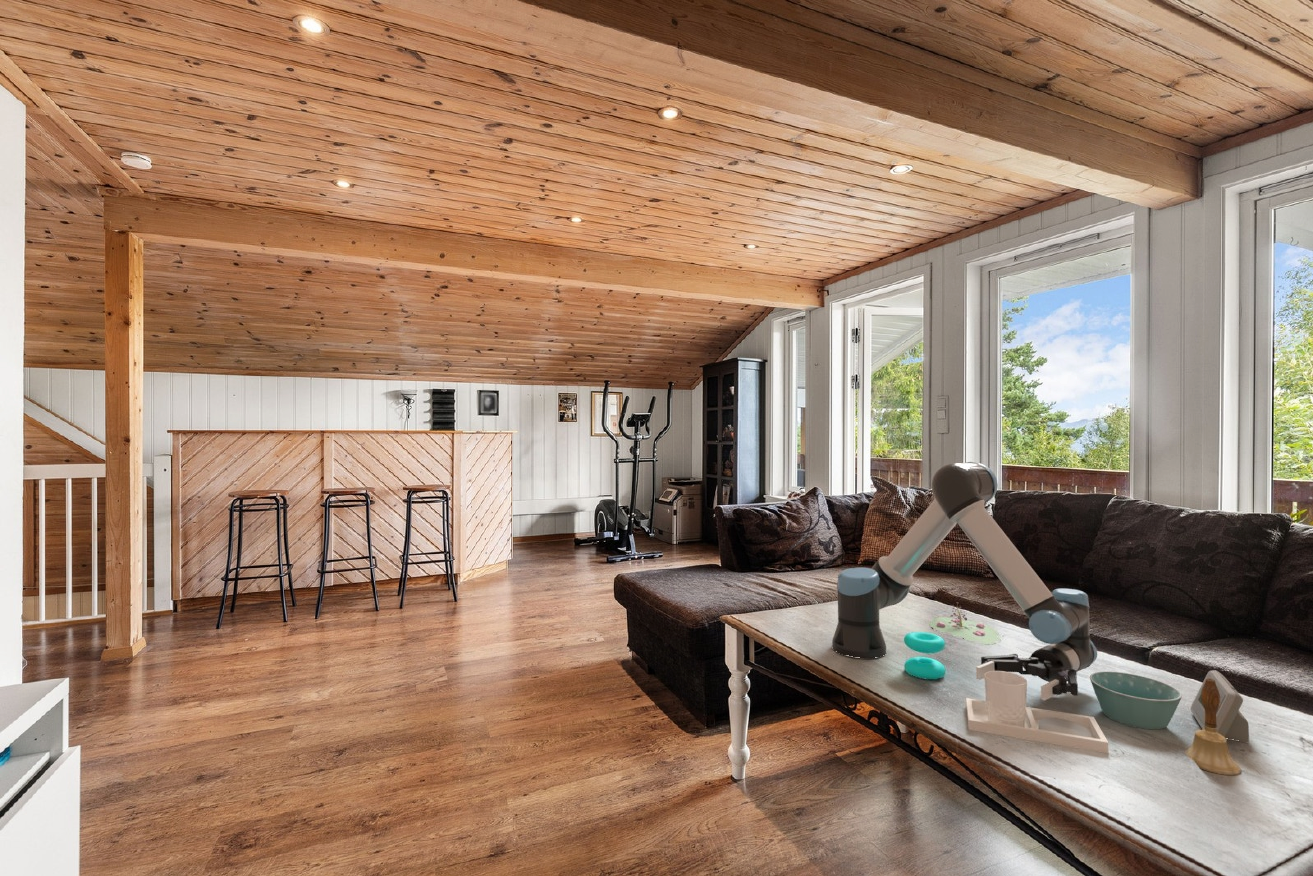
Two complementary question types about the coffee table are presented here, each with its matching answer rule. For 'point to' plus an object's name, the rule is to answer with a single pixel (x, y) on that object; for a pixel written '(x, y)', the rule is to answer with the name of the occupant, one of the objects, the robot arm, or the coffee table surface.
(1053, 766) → the coffee table surface
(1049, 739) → the tray
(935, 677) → the donuts
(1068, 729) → the grey flat disc
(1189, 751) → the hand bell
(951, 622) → the plant
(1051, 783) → the coffee table surface
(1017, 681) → the white cup
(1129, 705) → the bowl
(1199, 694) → the digital clock
